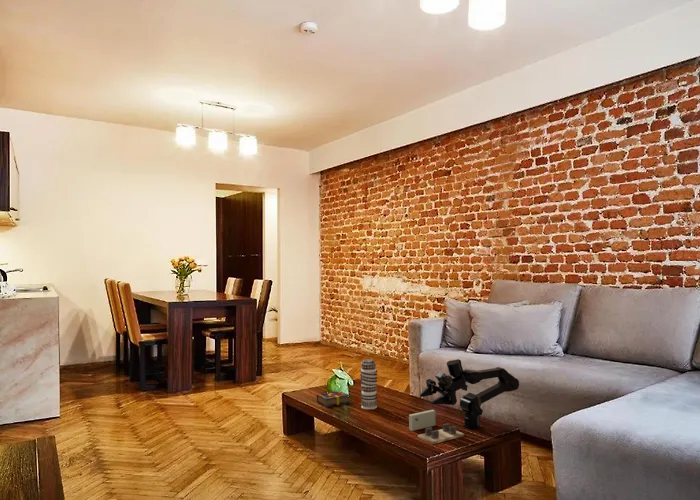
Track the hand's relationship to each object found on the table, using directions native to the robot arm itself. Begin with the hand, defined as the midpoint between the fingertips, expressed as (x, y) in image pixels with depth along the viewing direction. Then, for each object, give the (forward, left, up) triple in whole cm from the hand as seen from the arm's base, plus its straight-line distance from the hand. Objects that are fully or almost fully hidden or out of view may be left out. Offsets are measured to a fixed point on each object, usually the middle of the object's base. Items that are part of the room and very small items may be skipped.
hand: (426, 399), depth 225 cm
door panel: (-5, -9, -16) cm, 19 cm away
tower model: (-2, -50, -16) cm, 53 cm away
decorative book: (+9, -69, -17) cm, 72 cm away
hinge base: (-4, +5, -16) cm, 17 cm away
